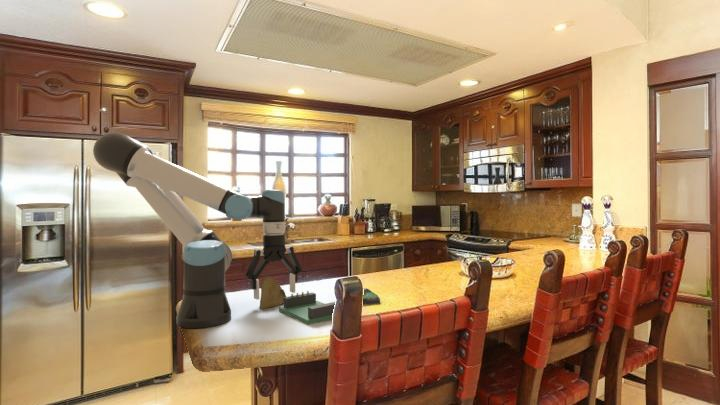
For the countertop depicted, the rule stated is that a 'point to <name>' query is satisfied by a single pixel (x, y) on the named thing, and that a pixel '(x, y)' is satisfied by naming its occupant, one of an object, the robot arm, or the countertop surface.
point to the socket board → (307, 308)
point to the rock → (271, 293)
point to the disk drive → (370, 297)
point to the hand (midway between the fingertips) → (275, 295)
